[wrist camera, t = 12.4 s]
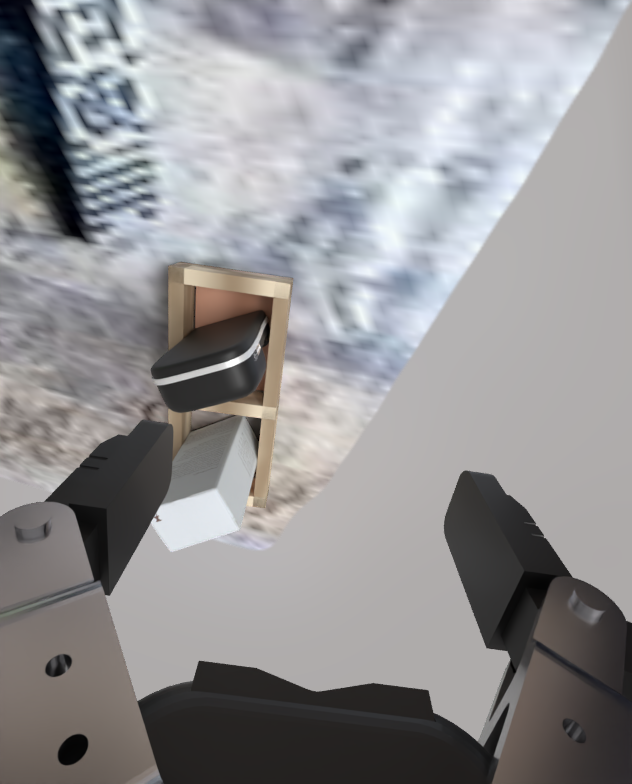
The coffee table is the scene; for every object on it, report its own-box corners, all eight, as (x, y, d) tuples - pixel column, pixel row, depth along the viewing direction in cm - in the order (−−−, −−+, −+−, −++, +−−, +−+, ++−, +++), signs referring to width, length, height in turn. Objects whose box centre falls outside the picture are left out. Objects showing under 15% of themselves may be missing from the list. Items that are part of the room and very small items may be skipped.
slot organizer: (178, 477, 43) (168, 496, 40) (180, 261, 35) (168, 266, 32) (268, 489, 44) (265, 508, 41) (293, 278, 35) (290, 284, 32)
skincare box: (209, 465, 42) (168, 554, 31) (189, 431, 41) (138, 511, 30) (264, 447, 41) (241, 532, 30) (245, 411, 40) (214, 486, 29)
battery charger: (207, 368, 38) (162, 427, 28) (191, 328, 37) (137, 374, 26) (280, 348, 37) (263, 401, 27) (266, 307, 36) (243, 346, 25)
